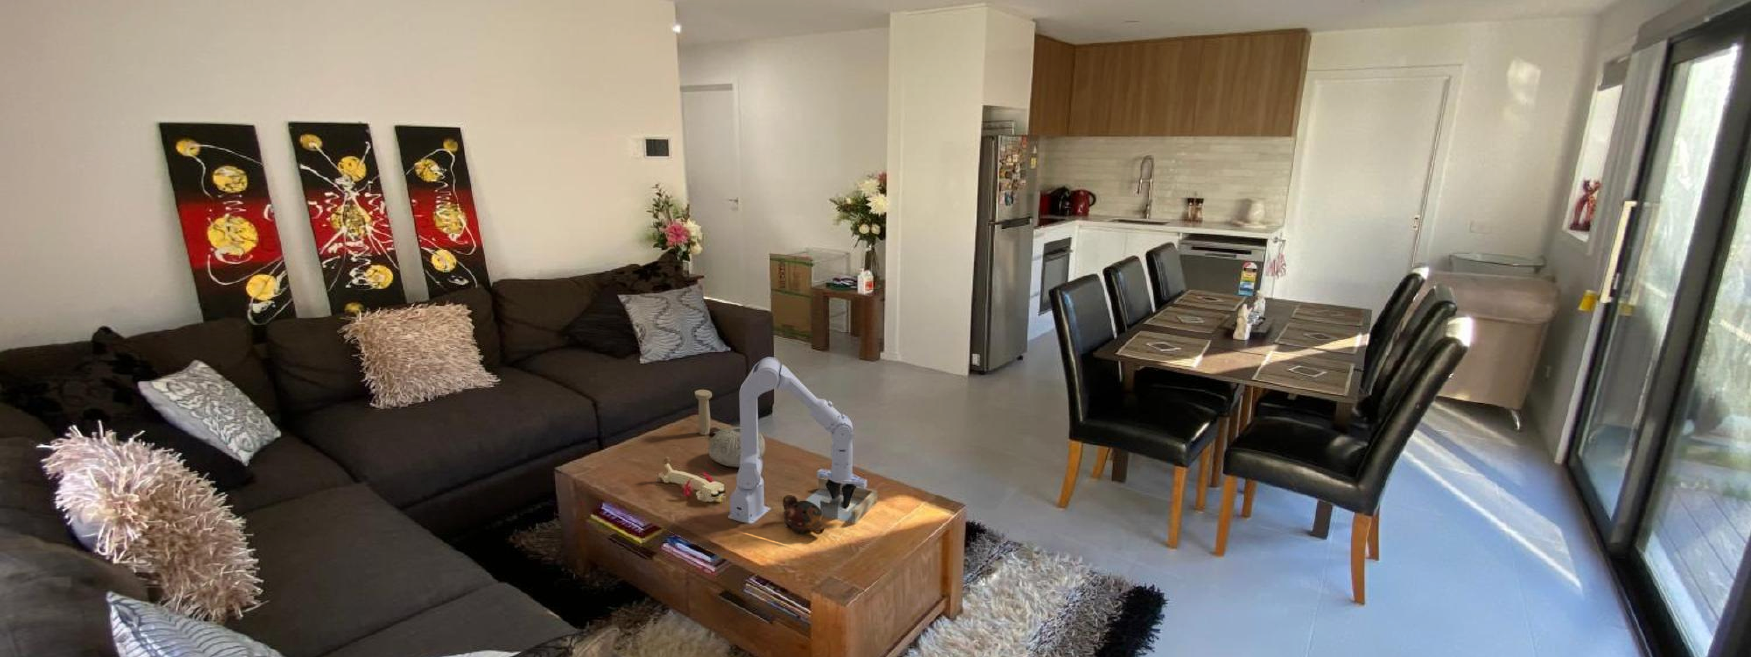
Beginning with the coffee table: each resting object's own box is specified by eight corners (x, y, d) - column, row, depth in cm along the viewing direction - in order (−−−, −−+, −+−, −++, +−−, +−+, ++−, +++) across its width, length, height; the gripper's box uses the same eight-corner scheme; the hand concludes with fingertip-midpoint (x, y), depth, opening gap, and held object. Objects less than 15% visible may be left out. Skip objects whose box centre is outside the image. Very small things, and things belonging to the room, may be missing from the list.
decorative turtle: (794, 513, 209) (796, 486, 207) (835, 535, 200) (837, 508, 198) (768, 525, 201) (770, 498, 199) (809, 548, 193) (812, 520, 190)
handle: (704, 438, 256) (702, 396, 252) (693, 432, 260) (691, 391, 256) (716, 434, 259) (714, 393, 256) (705, 429, 264) (704, 388, 260)
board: (851, 524, 203) (851, 523, 203) (795, 509, 211) (795, 508, 210) (872, 504, 215) (872, 502, 214) (818, 490, 222) (818, 489, 222)
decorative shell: (698, 467, 235) (696, 437, 232) (725, 445, 251) (724, 417, 249) (750, 476, 230) (749, 446, 227) (774, 453, 246) (774, 424, 244)
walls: (855, 525, 203) (855, 512, 202) (795, 509, 211) (795, 496, 209) (877, 503, 215) (877, 490, 214) (820, 489, 223) (820, 476, 222)
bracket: (838, 518, 205) (838, 505, 204) (820, 514, 208) (820, 500, 207) (847, 509, 210) (847, 496, 209) (830, 505, 213) (830, 492, 211)
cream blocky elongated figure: (652, 489, 224) (709, 508, 209) (649, 461, 222) (706, 479, 207) (679, 477, 231) (736, 495, 217) (676, 450, 230) (733, 467, 215)
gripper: (872, 460, 206) (871, 505, 210) (825, 450, 212) (825, 494, 216) (860, 470, 200) (859, 517, 204) (813, 459, 206) (813, 504, 210)
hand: (841, 506), depth 209 cm, fingers closed on bracket, 2 cm apart
